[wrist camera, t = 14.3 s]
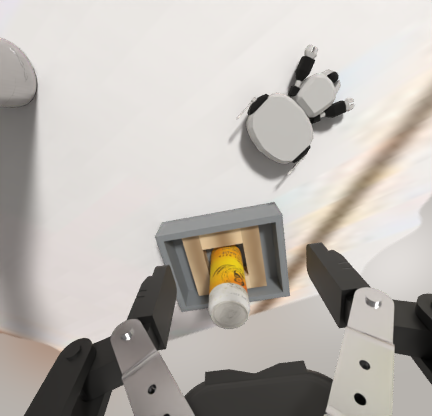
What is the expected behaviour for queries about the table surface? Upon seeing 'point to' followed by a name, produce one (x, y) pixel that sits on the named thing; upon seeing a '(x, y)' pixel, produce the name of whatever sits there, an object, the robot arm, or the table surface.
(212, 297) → the beer can
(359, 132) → the table surface
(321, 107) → the robot toy
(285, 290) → the open-top box
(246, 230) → the plate
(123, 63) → the table surface
